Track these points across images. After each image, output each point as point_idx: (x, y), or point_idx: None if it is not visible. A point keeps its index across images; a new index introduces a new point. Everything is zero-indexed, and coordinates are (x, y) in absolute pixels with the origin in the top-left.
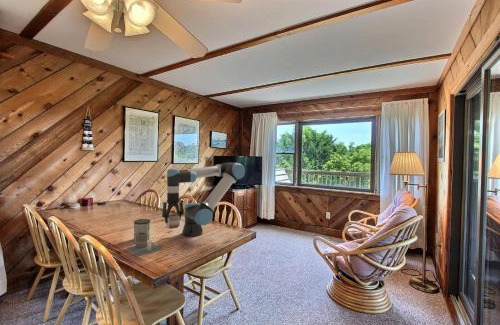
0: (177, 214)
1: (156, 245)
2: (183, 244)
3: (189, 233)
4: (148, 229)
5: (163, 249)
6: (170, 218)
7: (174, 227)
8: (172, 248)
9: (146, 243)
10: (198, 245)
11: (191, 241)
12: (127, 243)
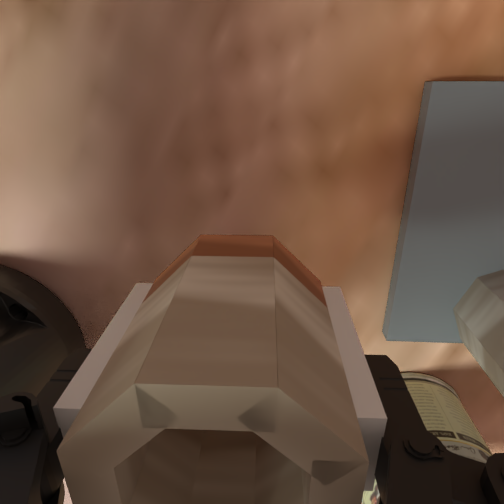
0: (82, 482)
1: (410, 242)
2: (176, 144)
3: (31, 305)
4: None
5: (431, 94)
6: (332, 392)
7: (254, 241)
8: (314, 112)
9: (502, 288)
10: (53, 3)
11: (76, 169)
12: (499, 434)
